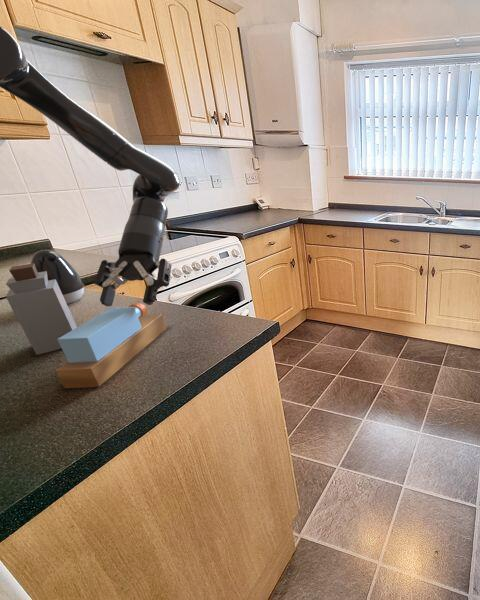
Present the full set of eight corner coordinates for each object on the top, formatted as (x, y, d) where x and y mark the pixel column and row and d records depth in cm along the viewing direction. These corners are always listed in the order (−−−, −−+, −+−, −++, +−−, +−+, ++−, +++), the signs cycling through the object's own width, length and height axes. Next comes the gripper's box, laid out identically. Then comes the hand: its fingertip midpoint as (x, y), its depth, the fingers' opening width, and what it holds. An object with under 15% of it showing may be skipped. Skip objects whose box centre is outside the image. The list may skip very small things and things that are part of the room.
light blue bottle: (97, 361, 61) (87, 337, 59) (68, 362, 61) (56, 339, 59) (154, 318, 77) (147, 298, 75) (131, 319, 77) (124, 299, 75)
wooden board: (99, 386, 61) (91, 368, 59) (64, 388, 61) (54, 370, 59) (166, 328, 81) (161, 313, 80) (140, 329, 81) (135, 314, 79)
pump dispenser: (52, 311, 90) (27, 257, 84) (34, 305, 94) (8, 252, 88) (97, 298, 99) (76, 247, 93) (78, 292, 103) (57, 243, 97)
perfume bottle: (40, 342, 76) (0, 266, 68) (79, 332, 80) (46, 259, 72) (36, 355, 71) (-6, 274, 64) (78, 344, 75) (43, 267, 68)
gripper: (98, 231, 75) (77, 299, 69) (165, 229, 75) (150, 296, 70) (122, 248, 81) (105, 311, 76) (183, 246, 82) (171, 309, 77)
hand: (127, 304), depth 73 cm, fingers open, 8 cm apart
